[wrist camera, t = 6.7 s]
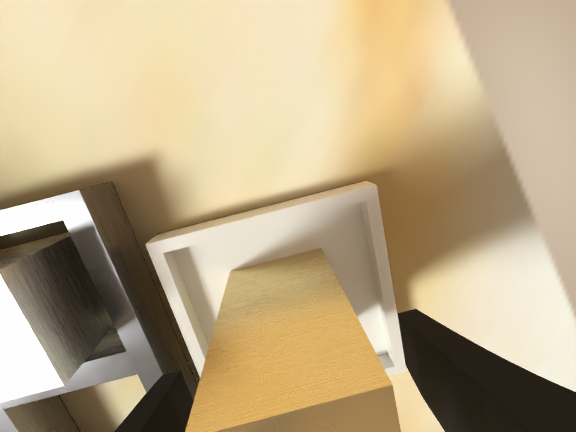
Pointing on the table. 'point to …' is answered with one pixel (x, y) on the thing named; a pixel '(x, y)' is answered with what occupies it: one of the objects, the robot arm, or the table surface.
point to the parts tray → (277, 244)
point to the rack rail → (77, 310)
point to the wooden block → (291, 356)
